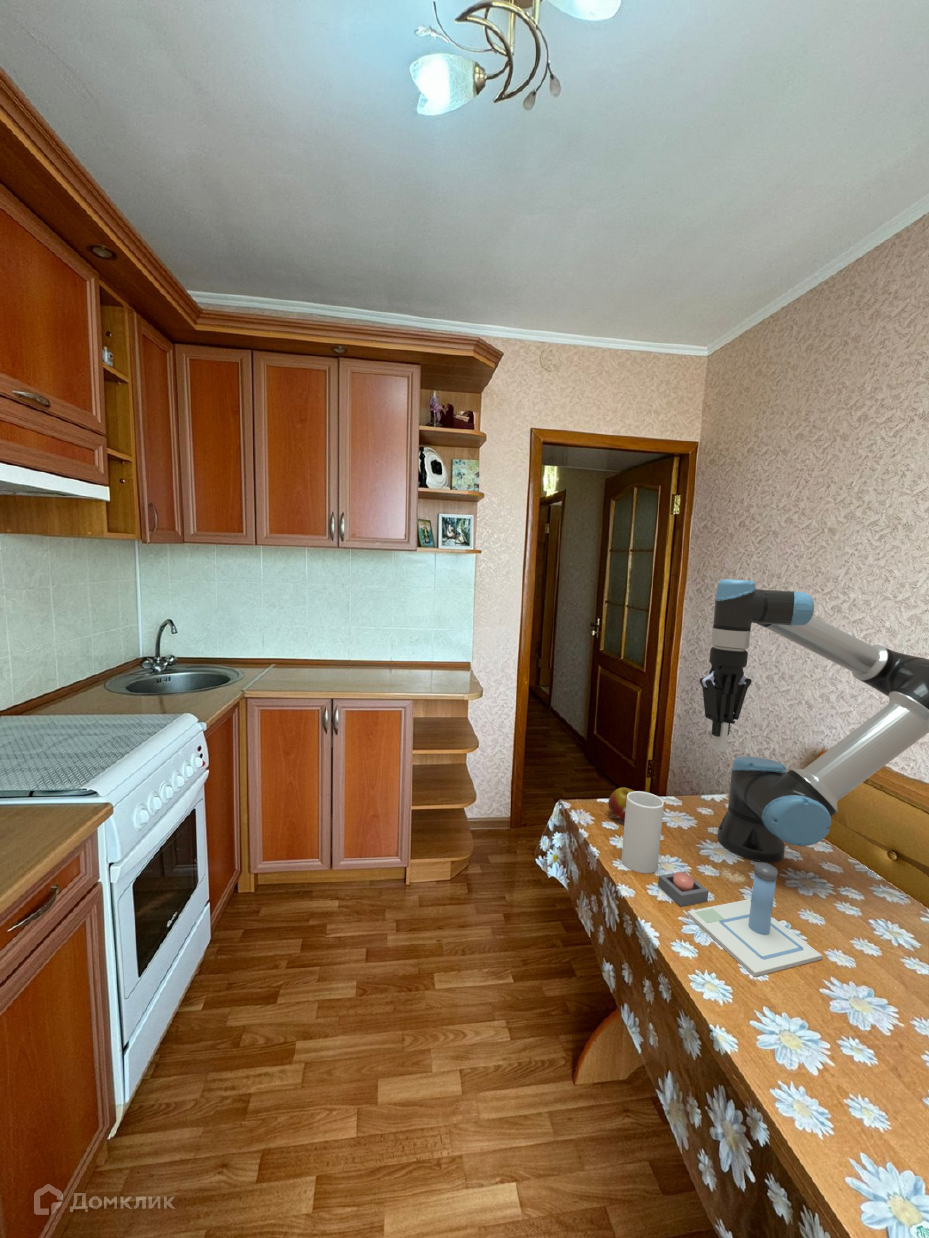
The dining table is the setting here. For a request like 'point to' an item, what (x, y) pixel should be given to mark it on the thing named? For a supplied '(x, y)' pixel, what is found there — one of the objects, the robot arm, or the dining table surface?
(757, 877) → the marker
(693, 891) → the button housing
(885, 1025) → the dining table surface
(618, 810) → the fruit
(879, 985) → the dining table surface
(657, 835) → the cup
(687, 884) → the button
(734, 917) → the board
